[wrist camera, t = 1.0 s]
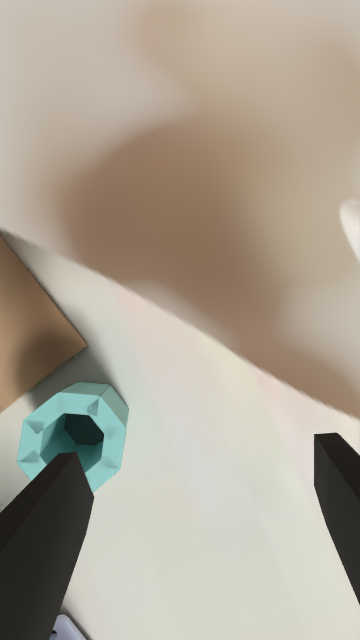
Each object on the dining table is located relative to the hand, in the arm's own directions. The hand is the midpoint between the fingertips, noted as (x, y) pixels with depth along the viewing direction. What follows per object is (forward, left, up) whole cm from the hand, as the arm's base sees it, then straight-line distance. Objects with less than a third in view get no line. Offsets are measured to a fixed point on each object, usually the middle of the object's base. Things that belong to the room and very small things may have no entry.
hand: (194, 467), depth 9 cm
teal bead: (-5, +2, -12) cm, 13 cm away
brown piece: (-9, +14, -12) cm, 20 cm away
